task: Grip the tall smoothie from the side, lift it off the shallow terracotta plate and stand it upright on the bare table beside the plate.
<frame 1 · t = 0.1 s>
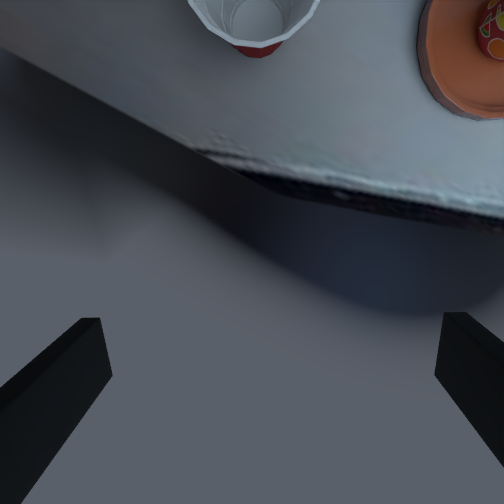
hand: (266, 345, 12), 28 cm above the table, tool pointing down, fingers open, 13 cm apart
plastic cup: (259, 27, 33), on the table
plate: (503, 29, 32), on the table
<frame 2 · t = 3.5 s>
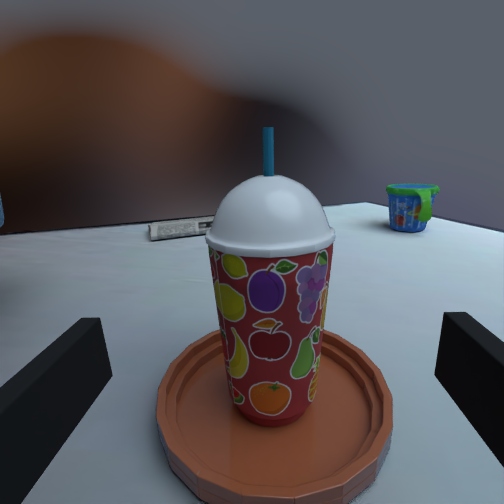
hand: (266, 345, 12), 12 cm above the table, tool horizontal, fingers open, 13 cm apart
snack cup: (406, 229, 73), on the table
plate: (272, 400, 25), on the table
smoothie: (272, 399, 24), resting on plate
newspaper: (219, 228, 81), on the table
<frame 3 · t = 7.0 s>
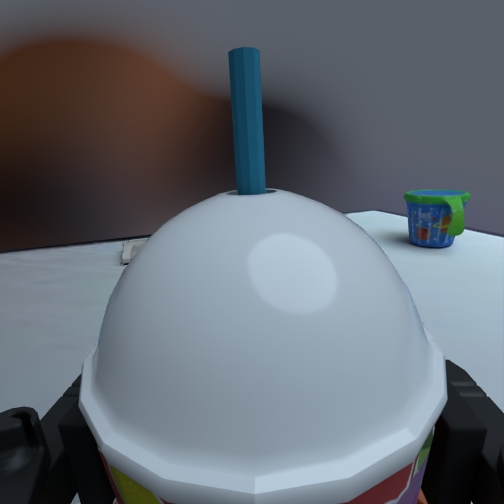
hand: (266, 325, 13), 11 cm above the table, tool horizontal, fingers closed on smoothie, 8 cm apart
snack cup: (429, 244, 61), on the table
newspaper: (208, 245, 69), on the table
when the fingers open (11 cm above the table, at t = 15.3 s): smoothie stays where it is, on the table.
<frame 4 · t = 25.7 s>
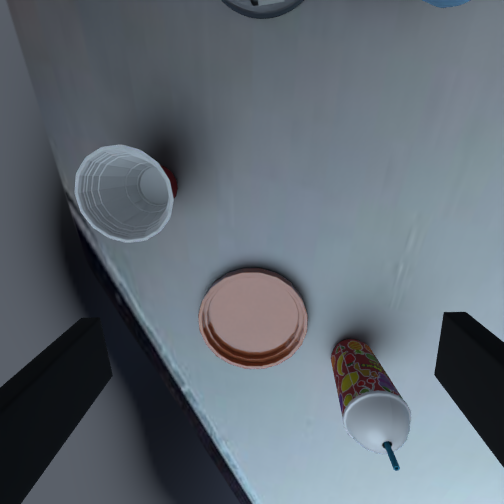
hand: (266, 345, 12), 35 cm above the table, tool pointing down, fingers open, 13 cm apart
plastic cup: (160, 186, 45), on the table
plate: (253, 316, 51), on the table
smoothie: (349, 352, 52), on the table
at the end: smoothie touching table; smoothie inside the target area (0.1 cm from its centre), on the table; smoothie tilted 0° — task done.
